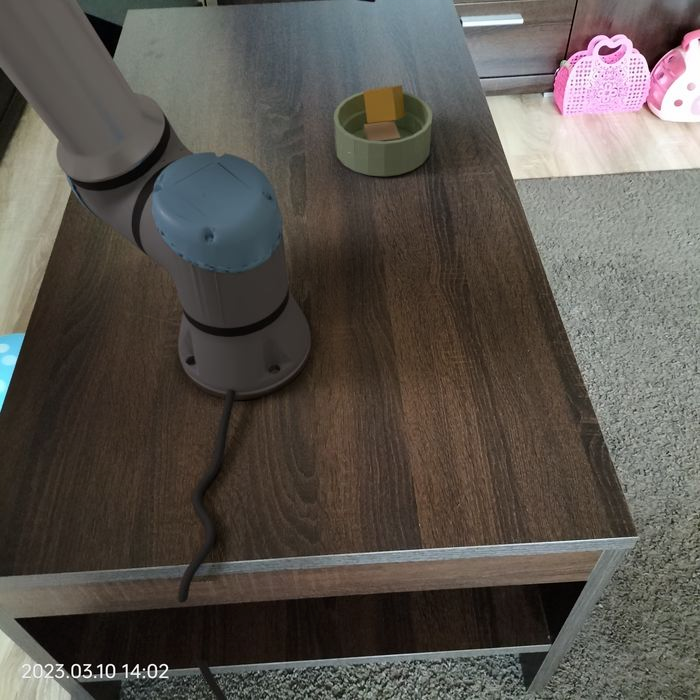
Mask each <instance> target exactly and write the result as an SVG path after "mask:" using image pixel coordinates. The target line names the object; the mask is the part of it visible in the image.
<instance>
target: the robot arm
mask: <svg viewBox="0 0 700 700" xmlns="http://www.w3.org/2000/svg"><path fill="white" fill-rule="evenodd" d="M358 1H360V2H367V3H375V2H376V1H377V0H358ZM0 69H1V70H2V71H3V72H4V74H5V75H6V76H7V77H8V79H9V80H10V81H11V82H12V84H13V86H15V87H16V89H17V91H19V93H20V94H21V96H23V98H24V99H25V100H26V101H27V103H28V104H29V105H30V107H32V109H33V110H34V112H35V113H36V114H37V116H39V118H40V119H41V120H42V121H43V123H44V124H45V125H46V127H47V128H48V129H49V130H50V131H51V133H52V134H53V136H55V138H56V139H57V144H56V160H57V162H58V163H57V164H58V166H59V168H60V169H61V170H62V171H63V173H64V174H65V176H66V179H67V182H68V184H69V187H70V189H71V191H72V193H73V194H74V195H75V196H76V198H77V199H78V201H79V202H80V204H81V205H82V206H83V207H84V208H85V209H86V210H87V211H88V212H89V213H90V214H92V215H93V216H94V217H96V218H97V219H98V220H100V221H102V222H103V223H105V224H107V225H108V226H109V227H110V228H112V229H113V230H114V231H115V232H117V233H118V234H119V235H120V236H122V237H123V238H124V239H126V240H127V241H128V242H129V243H131V244H132V245H133V246H135V247H136V248H137V249H139V250H140V251H141V252H142V253H143V254H145V255H146V256H147V257H149V258H150V259H151V260H152V261H154V262H155V263H156V264H157V265H158V266H160V267H161V268H162V269H164V270H165V271H166V272H167V273H168V275H169V276H170V277H171V278H172V280H173V282H174V286H175V288H176V292H177V296H178V299H179V303H180V305H181V309H182V315H181V321H180V328H179V334H178V340H177V348H178V349H177V350H178V357H179V360H180V363H181V366H182V369H183V372H184V374H185V376H186V377H187V379H188V380H189V381H190V382H191V384H192V385H194V386H195V387H196V388H198V389H199V390H200V391H202V392H204V393H206V394H207V395H210V396H212V397H215V398H220V399H224V404H223V408H222V411H221V416H220V422H219V426H218V431H217V438H216V442H215V443H216V444H215V449H214V452H213V453H214V454H213V458H212V460H211V463H210V466H209V468H208V470H207V472H206V473H205V474H204V475H203V476H202V477H201V479H200V480H199V481H198V483H197V484H196V486H195V488H194V489H193V493H192V496H191V497H192V499H191V500H192V501H191V503H192V506H193V511H194V512H195V513H196V515H197V516H198V518H199V519H200V520H201V522H202V523H203V525H204V527H205V539H204V542H203V545H202V546H201V548H200V550H198V552H197V553H196V555H195V556H194V558H193V559H191V561H190V562H189V564H188V566H187V568H186V569H185V571H184V573H183V574H182V575H183V576H182V578H181V579H180V583H179V588H178V594H177V601H178V603H181V604H183V603H185V602H186V601H188V598H189V591H190V586H191V584H192V580H193V579H194V576H195V574H196V573H197V572H198V569H199V568H200V567H201V565H202V564H203V563H204V562H205V560H206V559H207V558H208V556H209V555H210V553H211V551H212V549H213V547H214V544H215V541H216V537H217V529H216V528H217V527H216V524H215V521H214V520H213V517H211V515H210V514H209V512H208V511H207V509H206V508H205V506H204V504H203V494H204V492H205V489H206V488H207V487H208V486H209V484H210V483H211V482H212V480H213V479H214V478H215V476H216V475H217V473H218V472H219V469H220V467H221V464H222V461H223V457H224V452H225V448H226V442H227V434H228V429H229V424H230V419H231V415H232V411H233V405H234V401H245V400H247V401H248V400H253V399H259V398H264V397H266V396H269V395H271V394H274V393H276V392H278V391H280V390H282V389H283V388H285V387H287V386H289V384H291V383H292V382H293V381H294V380H296V378H297V377H298V376H299V375H300V374H301V373H302V372H303V370H304V369H305V367H306V365H307V363H308V361H309V359H310V355H311V351H312V336H311V335H312V334H311V328H310V326H309V323H308V319H307V318H306V315H305V314H304V312H303V310H302V309H301V307H300V306H299V304H298V303H297V301H296V299H295V298H294V296H293V295H292V293H291V292H290V288H289V287H290V286H289V280H288V270H287V259H286V253H285V252H286V251H285V243H284V233H283V230H284V229H283V217H282V213H281V209H280V206H279V203H278V199H277V195H276V192H275V188H274V186H273V185H272V183H271V181H270V179H269V178H268V176H267V175H266V174H265V173H264V172H263V171H262V170H261V169H260V168H259V167H258V166H257V165H255V164H254V163H252V162H250V161H249V160H247V159H245V158H242V157H240V156H237V155H234V154H231V153H227V152H226V153H223V154H222V155H221V156H217V155H216V152H214V151H213V152H212V151H208V152H207V151H205V152H198V153H194V152H192V151H191V150H190V149H189V148H188V147H186V145H185V144H184V143H183V142H182V141H181V139H180V138H179V135H178V134H177V132H176V131H175V130H174V128H173V126H172V124H171V122H170V121H169V120H168V118H167V115H166V114H165V113H164V111H163V110H162V108H161V106H160V105H159V103H158V102H157V101H156V100H155V99H154V98H152V97H150V96H148V95H146V94H143V93H139V92H134V91H133V90H132V88H131V86H130V84H129V83H128V82H127V80H126V78H125V77H124V75H123V73H122V71H121V70H120V68H119V67H118V66H117V64H116V62H115V60H114V59H113V57H112V56H111V54H110V52H109V51H108V49H107V48H106V46H105V44H104V43H103V41H102V40H101V38H100V36H99V35H98V33H97V31H96V30H95V28H94V27H93V25H92V24H91V22H90V20H89V18H88V17H87V15H86V14H85V12H84V11H83V9H82V7H81V6H80V4H79V2H78V1H77V0H0ZM195 662H196V664H197V667H198V669H199V672H200V674H201V675H202V677H203V679H204V681H205V682H206V684H207V686H208V687H209V689H210V691H211V692H212V694H213V695H214V697H215V698H216V699H217V700H228V698H227V696H226V694H225V693H224V692H223V690H222V689H221V687H220V685H219V683H218V682H217V680H216V679H215V676H214V675H213V673H212V670H211V669H210V666H209V664H208V662H207V660H202V659H195Z"/></svg>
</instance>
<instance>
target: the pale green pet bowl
mask: <svg viewBox="0 0 700 700" xmlns="http://www.w3.org/2000/svg"><path fill="white" fill-rule="evenodd" d="M403 98H404V108H405V117H403V118H400V119H397V120H392V121H394V122H395V125H396V127H397V129H398V132H399V134H400V136H401V139H400V140H393V141H370V140H366V139H364V124H371V123H367V116H366V107H365V99H364V91H361V92H358V93H354V94H352V95H350V96H348V97H346V98H345V99H343V100H342V101H341V102H340V103H339V105H337V107H336V108H335V110H334V114H333V131H334V151H335V153H336V154H335V155H336V157H337V159H338V160H339V161H340V162H341V163H342V164H343V166H345V167H346V168H348V169H349V170H352V171H353V172H356V173H359V174H362V175H366V176H371V177H373V176H374V177H392V176H400V175H403V174H405V173H408V172H413V171H414V170H415V169H417V168H419V167H420V166H422V165H423V164H424V163H425V162H426V160H427V159H428V157H430V153H431V144H432V131H433V129H432V128H433V116H434V115H433V112H432V109H431V107H430V105H429V104H428V103H427V102H426V101H424V100H423V99H422V98H421V97H419V96H417V95H415V94H413V93H410V92H407V91H403ZM383 122H386V121H383ZM374 123H378V122H374Z"/></svg>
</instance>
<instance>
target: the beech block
mask: <svg viewBox="0 0 700 700" xmlns="http://www.w3.org/2000/svg"><path fill="white" fill-rule="evenodd" d="M364 139H366V140H370V141H393V140H400V139H401V136H400V134H399V132H398V129H397V127H396V125H395V122H394V121H386V122H378V123H371V124H364Z"/></svg>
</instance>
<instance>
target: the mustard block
mask: <svg viewBox="0 0 700 700" xmlns="http://www.w3.org/2000/svg"><path fill="white" fill-rule="evenodd" d="M363 92H364V99H365V107H366V116H367V123H374V122H383V121H392V120H397V119H400V118H403V117H405V108H404V98H403V92H404V89H403V85H402V84H399V85H392V86H385V87H377V88H371V89H366V90H363Z"/></svg>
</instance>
